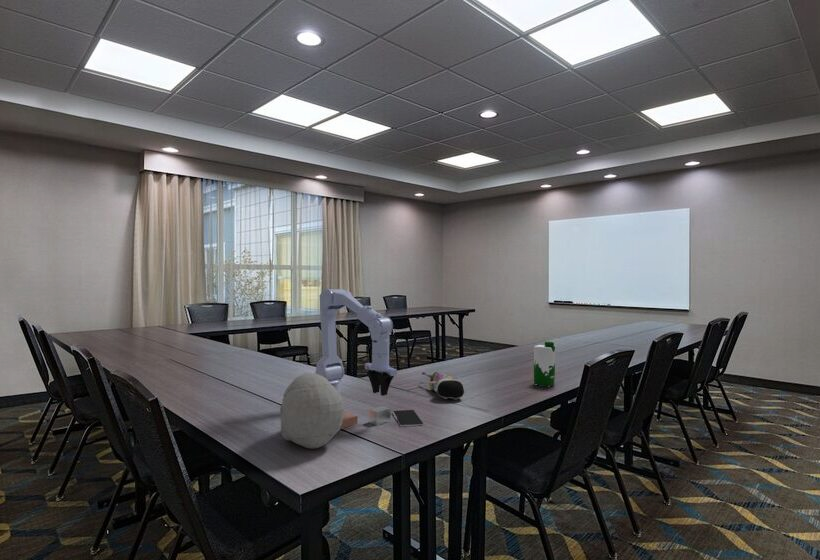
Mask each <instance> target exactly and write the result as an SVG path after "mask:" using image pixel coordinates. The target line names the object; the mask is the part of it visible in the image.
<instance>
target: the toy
mask: <svg viewBox="0 0 820 560" xmlns="http://www.w3.org/2000/svg"><path fill="white" fill-rule="evenodd" d="M421 375H422V376H423V375H424V376H427V377H428V378H430V379H429V381H423V382H422V381H420V382H419V384H429V389H430V390H431V391H434V392H435V393H436V394H437V395H438V396H439V397H441V398H443V399H444V400H448V399H452V400H454V401H456V400H458V399H460V398H462V397H463V396H464V394H465V390H464V386H465V385H467V386H468V385H471V382H470V383H462V382H461V381H459V380H456V379H453V377H452V376H451V375H449V374H445V373H441V372H440V371H435V372H434V373H433V374H428V373H426V372H422V374H421Z"/></svg>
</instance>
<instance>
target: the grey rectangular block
mask: <svg viewBox="0 0 820 560" xmlns="http://www.w3.org/2000/svg"><path fill="white" fill-rule="evenodd" d="M389 421H390V422H391V408H390V407H387V406H384V405H381V406H377V407H373V408H369V410H368V423H369V422H370V424H372V423H373V424H372V425H374V424H375V426H379V425H378V424H380V425H383V424H386V423H385V422H387V423H389ZM382 423H383V424H382Z"/></svg>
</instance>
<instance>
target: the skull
mask: <svg viewBox="0 0 820 560" xmlns="http://www.w3.org/2000/svg"><path fill="white" fill-rule="evenodd" d="M281 400H282V402H281V404H280V406H279V410H280V414H281V416H280V430H281V435H282V438H283V439H284V440H286V441H289V442H292V443H295V444H297V445H299V446H301V447H304V448H307V449H315V450H316V449H318V448H321V447H324V446H325V445H326V444H328V443H329V442H330V441H331V439H333V437H334V436H335V435H336V434H337V433H338V432H339V431H340V430H341V429H340V428H341V425H342V422H343V416H344V412H345V404H344V400H343V397H342V396H341V394H340V392H339V393H338V391H337V390H336V388H334V387H333V386H332V385H331V383H330V382H329V381H328V380H327V379H326V378H324V377H323V376H321V375H318V374H315V373H313V372H305V373H302V374H300V375H299V376H297V377H296V378H295V379H293V381H292V382H291V383H290V384H289V385H288V386H287V387H286V389H285V391H284V393H283V397H282V399H281Z"/></svg>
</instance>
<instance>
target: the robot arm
mask: <svg viewBox="0 0 820 560" xmlns="http://www.w3.org/2000/svg"><path fill="white" fill-rule="evenodd" d="M344 307H345V308H348V309H349V310H351V311H352V312H354V313H355V314H356V316H357V319H358V320H359V321H360V322H361V323H363V324H364V325H365V326H366V327H368V331H369V333H370V339H371V340H372V341H371V347H372V349H371V362H367V363H364V369H365V370H369V371H366V375H367V377H368V379H369V382H370V386H371V389H372V393H373V394H376V393H378V394H379V392H380V396H387V395H388V392H389V389H390V385H391V383H392V380H393V379H394V377H396V376H397V375H398V370H397V368H394V367H392V366H390V334H391V333H392V331H393V328H394V323H393V320H392V319H391V318H390V316H383V315H382V313H380V312H377V311H376V310H375V309H373V306H372V305H363V304H362V303H361V302H360V301H358V300H357V299H356V298H355V297H354V296H353V295H352V292H351V291H349V289H346V288H336V289H335V288H333V289H330V288H325V289H323V290H322V291H321V293H320V295H319V310H320V311H319V312H320V332H321V335H320V336H321V352H322V353H321V354H322V356H321V358H320V359H319V360H318V361H317V362H316V363H315V364H316V366H315V367H316V368H315V374H318V375H321V376H323V377H324V378H326V379H327V380H328V381H329V382H330V383H331V385H332V386H333V387H334V388H336V390H337V391H338V393H339V394H340V382H342V379H343V378H344V376H345V368H344V366H343V360H342V359H341V358H340V357H339V356H338V351H337V332H336V331H337V330H336V328H337V327H336V326H337V325H336V314H337V313H338V311H339V310H341V309H343V308H344Z"/></svg>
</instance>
